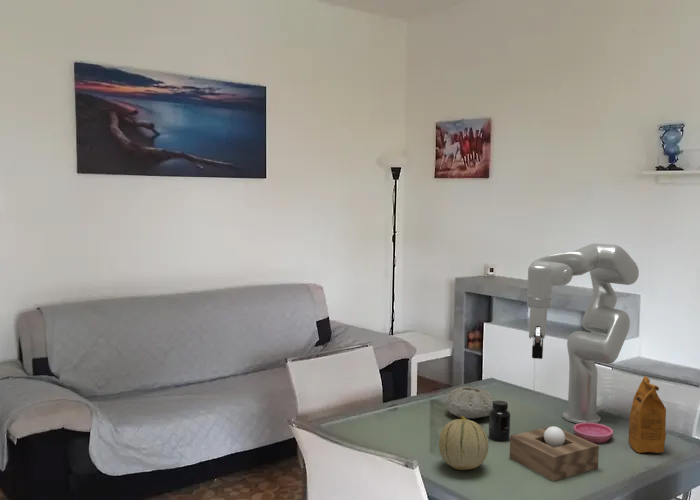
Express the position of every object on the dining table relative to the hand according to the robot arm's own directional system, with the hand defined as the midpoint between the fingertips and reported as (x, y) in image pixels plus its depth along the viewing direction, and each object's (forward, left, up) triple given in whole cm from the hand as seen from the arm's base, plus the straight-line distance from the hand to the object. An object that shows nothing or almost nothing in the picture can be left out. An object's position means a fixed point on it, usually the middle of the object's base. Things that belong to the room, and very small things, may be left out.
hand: (537, 354), depth 214 cm
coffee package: (-26, +22, -28) cm, 44 cm away
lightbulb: (+8, +17, -28) cm, 34 cm away
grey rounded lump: (+5, -27, -29) cm, 40 cm away
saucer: (-18, +8, -29) cm, 35 cm away
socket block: (+9, +17, -28) cm, 34 cm away
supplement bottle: (+10, -6, -28) cm, 31 cm away
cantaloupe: (+35, +7, -28) cm, 46 cm away
